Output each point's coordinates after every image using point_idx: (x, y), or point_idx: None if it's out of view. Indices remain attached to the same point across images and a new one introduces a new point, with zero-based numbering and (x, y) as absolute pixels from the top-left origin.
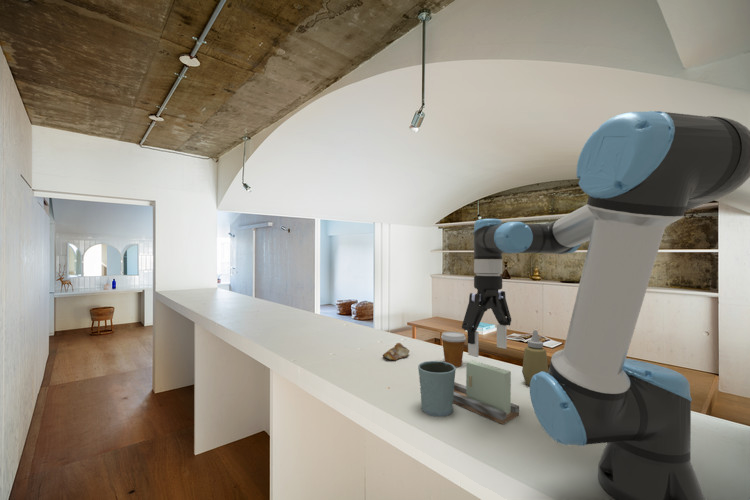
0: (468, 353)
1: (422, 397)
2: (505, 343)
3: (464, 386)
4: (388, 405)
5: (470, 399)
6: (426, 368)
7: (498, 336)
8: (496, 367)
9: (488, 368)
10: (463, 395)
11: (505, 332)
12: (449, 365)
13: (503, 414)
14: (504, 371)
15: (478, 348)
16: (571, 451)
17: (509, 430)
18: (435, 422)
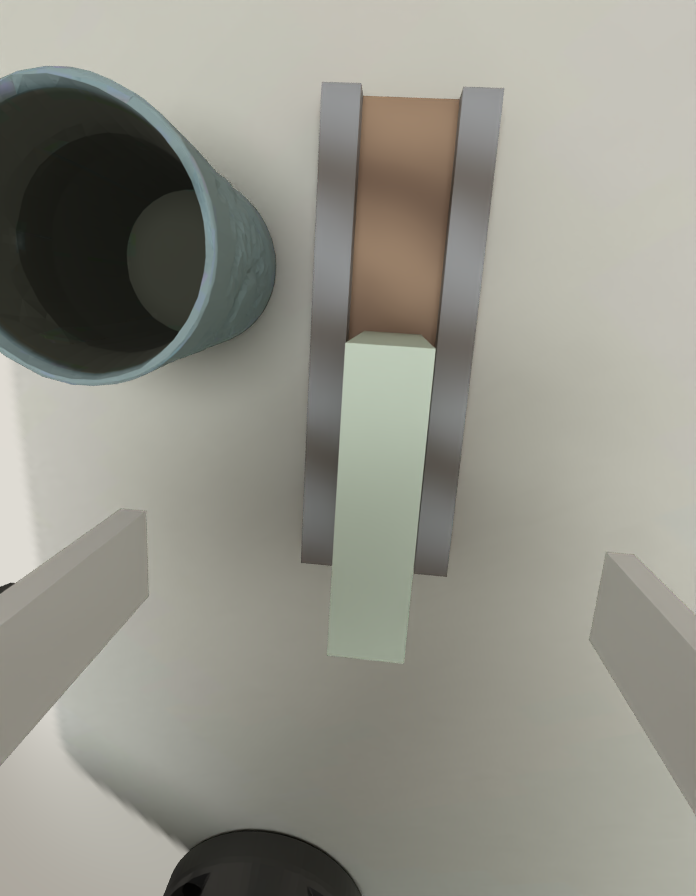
0: (115, 516)
1: (95, 211)
2: (614, 675)
3: (475, 244)
4: (26, 47)
5: (331, 379)
6: (102, 112)
7: (654, 638)
8: (409, 565)
9: (342, 538)
10: (412, 280)
11: (677, 775)
12: (206, 268)
13: (310, 562)
14: (367, 638)
15: (110, 638)
16: (315, 759)
17: (286, 581)
18: None
